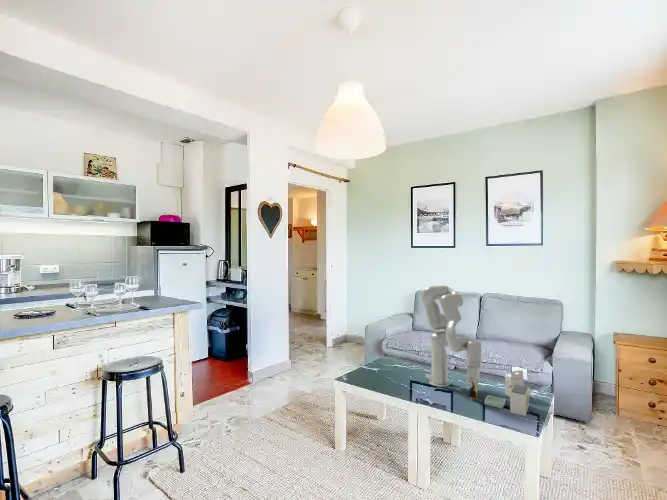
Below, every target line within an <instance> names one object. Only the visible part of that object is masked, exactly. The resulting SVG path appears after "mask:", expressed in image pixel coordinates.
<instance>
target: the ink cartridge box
mask: <svg viewBox="0 0 667 500" xmlns="http://www.w3.org/2000/svg"><path fill="white" fill-rule="evenodd" d="M504 379H505V384H504V385H505V387H504V388H505V391H504V392H505V394H504V395H505V396H507V397H510V392H511V390H512V388H513V386H514V384H516V385H521V386H524V371H523V370H522V369H521V370H514V371H511V372H510V373H506V374H505V375H504Z"/></svg>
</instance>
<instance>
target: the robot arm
mask: <svg viewBox="0 0 667 500" xmlns="http://www.w3.org/2000/svg"><path fill="white" fill-rule="evenodd" d="M436 300H439V303H440V305H441V308H442V311H443V313H441V309H440V306H439V304H438V303H437V302H436ZM421 301H422V304H423V306H424V308H425V312H426V317H427V321H428V325H429V328H430V329H431V330H433V331H437V332H433V333H432V334H431V335H430V338H429V342H430V348H431V373H430V374H428V373H425V375H424V376H425V378H426V379H428V383H429V384H430V385H431V386H434V387H439V388H446V387H449V386H450V385H451V381H450V380H448V376H449V375H448V371H449V370H448V367H449V365H448V362H449V361H448V360H449V359H448V357H449V355H448V352H447V350H446V348H450V350H451V351H453V352H454V353H459V352H465V351H466V366H467V371H466V385H469V398H470V397H472V398H476V391H475V385H478V386H479V382H480V374H481V373H480V368H481V367H482V343H481V341H479V340H476V339H473V338H471V337H469V336H463V337H461V336H460V337H458V336H457V332H456V326H457V324H458V323H460V322H461V320H462V316H461V313H460V310H459V308H460V307H462V306H463V304H464V298H463V296H462V295H461V294H459V292H457V291H455V290H454V289H452V288H451V287H449V286H448V285H433V286H432V285H431V286H426V287H425V288H424V289H423V291H422V294H421ZM440 330H442V331H440ZM473 384H474V385H473ZM473 386H474V387H473Z"/></svg>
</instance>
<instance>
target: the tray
mask: <svg viewBox="0 0 667 500" xmlns="http://www.w3.org/2000/svg"><path fill="white" fill-rule="evenodd" d="M506 400H507V399H506V398H503V397H499V396H494V395H489V394H487V395H486V397H485V398H484V401H483V405H484V406H489V407H493V408H498V409H502V410H503V409H504V407H505V405H506V402H507V401H506Z"/></svg>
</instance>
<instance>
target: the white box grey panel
mask: <svg viewBox="0 0 667 500" xmlns="http://www.w3.org/2000/svg"><path fill="white" fill-rule="evenodd" d="M509 400H510V401H509V409H510V410H509V413H510V414H511V413H512V414H516V415H520V416H523V417H526V415H527V413H528V409H529V406H530V403H529V402H530V387H529V386H525V385H523V386H521V385H516V384H514V386H513V388H512V390H511V392H510V399H509Z"/></svg>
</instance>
